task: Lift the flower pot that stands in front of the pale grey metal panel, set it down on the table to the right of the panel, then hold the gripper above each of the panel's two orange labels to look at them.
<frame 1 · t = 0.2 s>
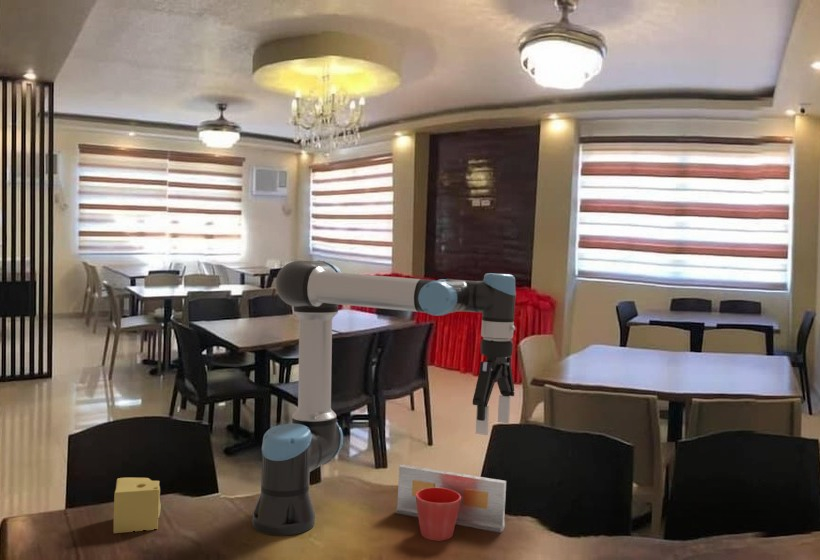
hand: (492, 428, 161), 27 cm above the table, tool pointing down, fingers open, 13 cm apart
cheese: (136, 525, 163), on the table
label panel: (449, 519, 173), on the table
flower pot: (436, 535, 164), on the table
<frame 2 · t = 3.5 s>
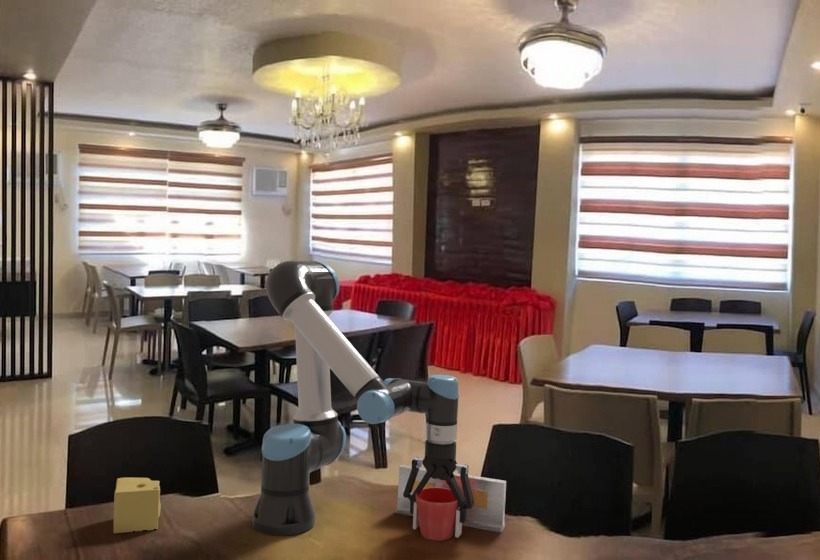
hand: (437, 531, 164), 1 cm above the table, tool pointing down, fingers closed on flower pot, 10 cm apart
flower pot: (436, 535, 164), on the table, touching gripper
everything else where it was.
when the fingers open (2 cm above the table, at t = 12.2 s): flower pot moves 2 cm, on the table.
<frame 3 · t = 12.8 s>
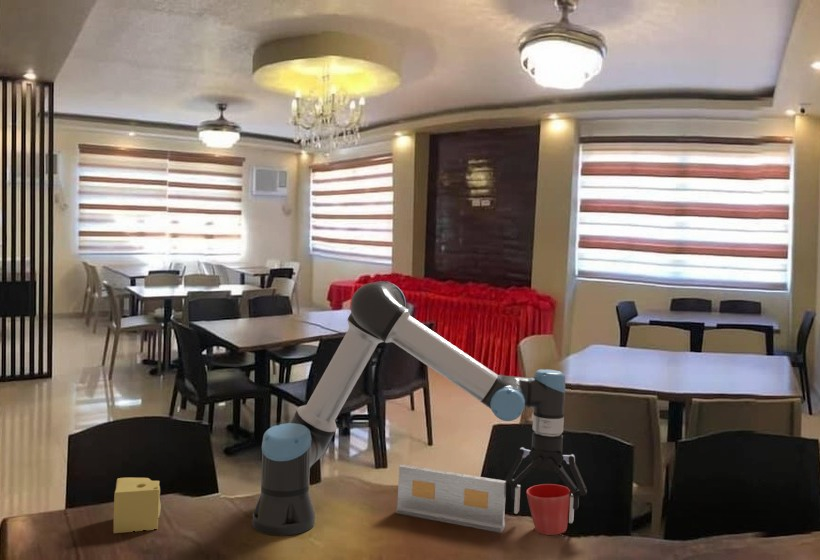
hand: (543, 516, 170), 3 cm above the table, tool pointing down, fingers open, 13 cm apart
flower pot: (551, 530, 169), on the table, touching gripper
everything else where it was.
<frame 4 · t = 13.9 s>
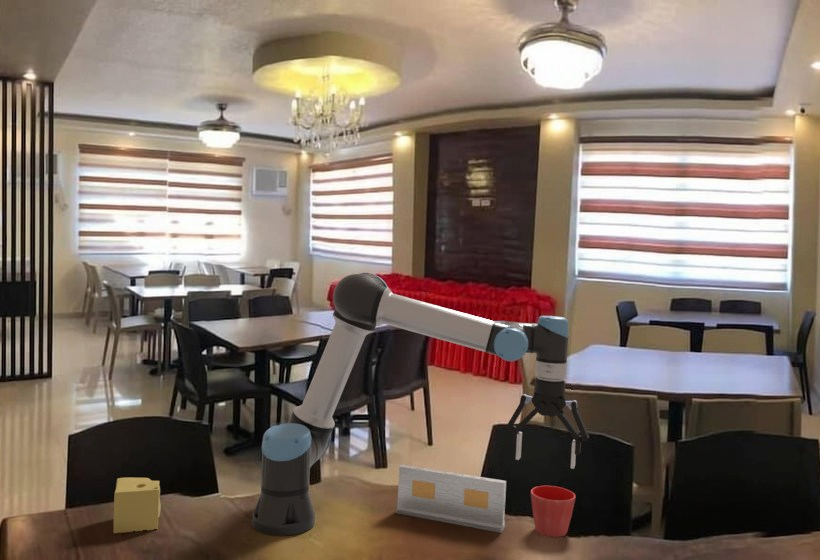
hand: (545, 462, 169), 17 cm above the table, tool pointing down, fingers open, 13 cm apart
flower pot: (551, 532, 169), on the table
everything else where it was.
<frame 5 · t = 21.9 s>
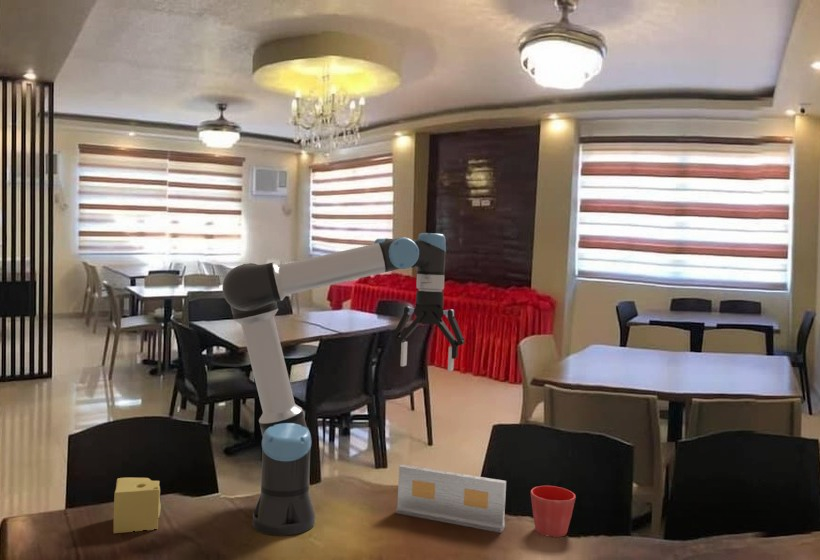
hand: (426, 368, 184), 37 cm above the table, tool pointing down, fingers open, 13 cm apart
nothing on the table moved.
at the end: flower pot inside the target area (2.1 cm from its centre), on the table; flower pot tilted 0°; flower pot touching table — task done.
